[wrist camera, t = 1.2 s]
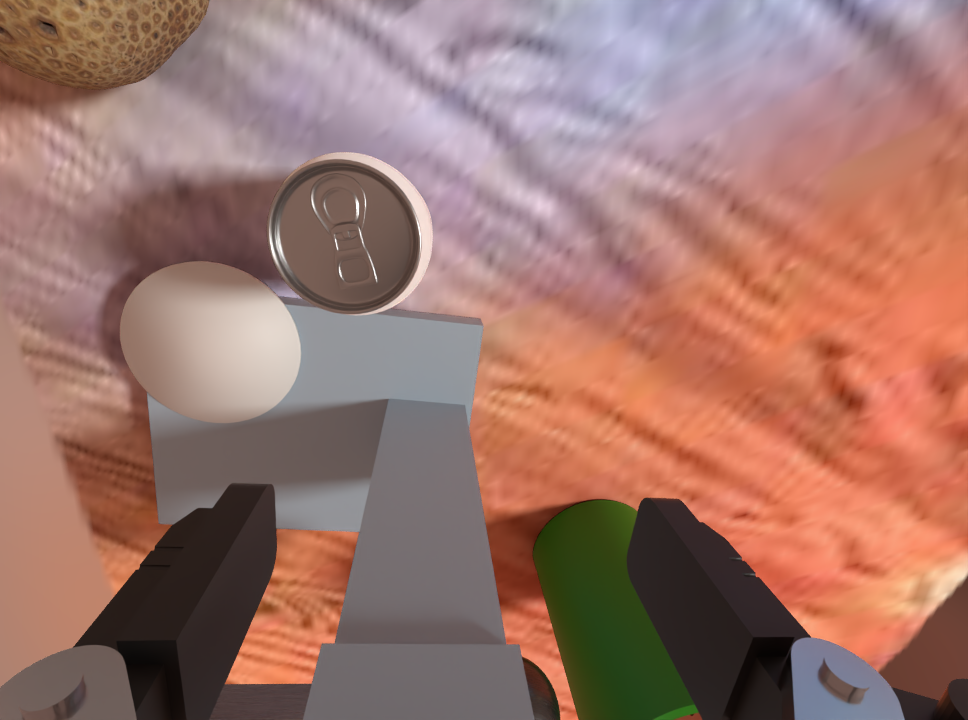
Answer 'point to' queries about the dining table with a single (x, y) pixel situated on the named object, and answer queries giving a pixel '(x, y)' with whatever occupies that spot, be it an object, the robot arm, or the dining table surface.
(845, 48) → the dining table surface
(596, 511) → the motor
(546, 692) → the lever
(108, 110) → the dining table surface
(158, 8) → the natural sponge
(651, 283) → the dining table surface
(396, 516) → the press
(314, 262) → the can
